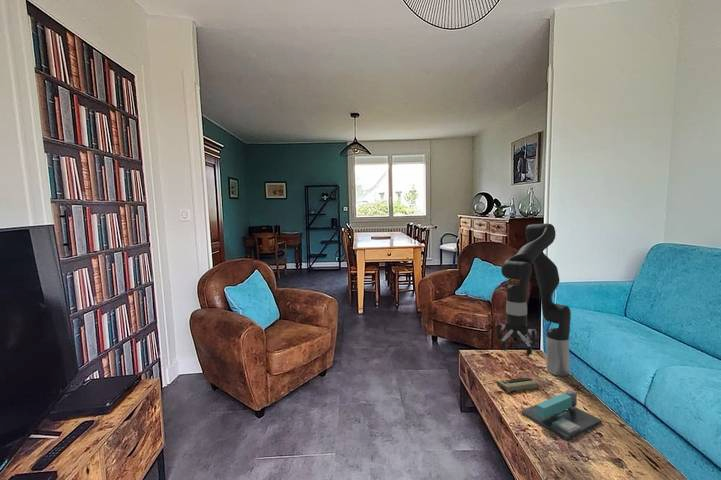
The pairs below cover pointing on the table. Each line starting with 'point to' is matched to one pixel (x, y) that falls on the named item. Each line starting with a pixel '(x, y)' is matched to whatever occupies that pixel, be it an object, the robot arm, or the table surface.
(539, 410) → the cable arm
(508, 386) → the computer
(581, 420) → the board
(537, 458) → the table surface
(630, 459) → the table surface
